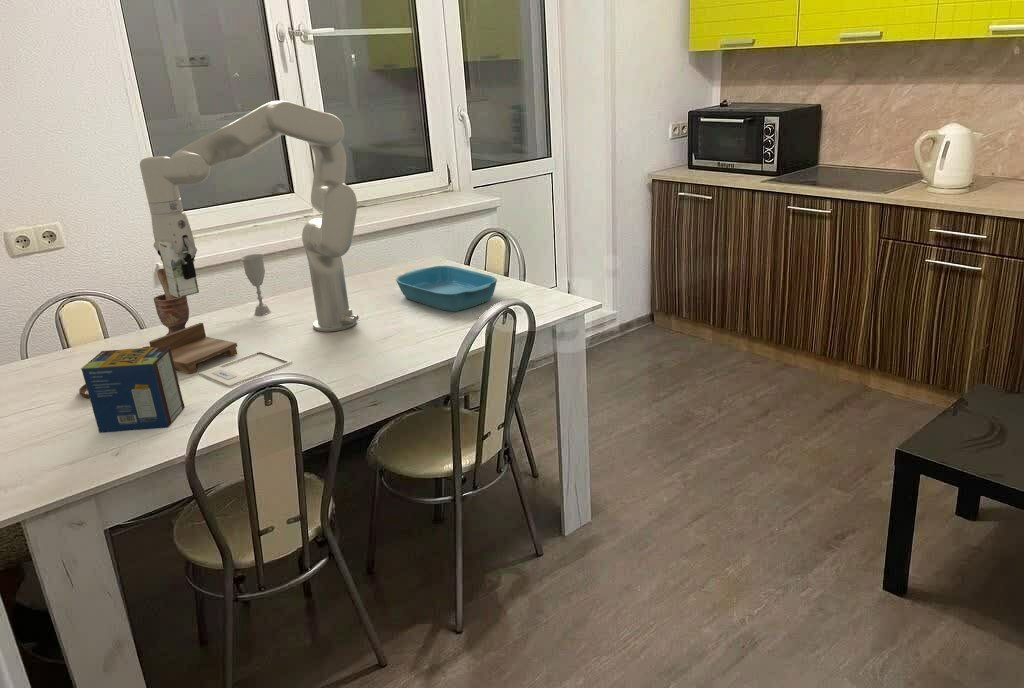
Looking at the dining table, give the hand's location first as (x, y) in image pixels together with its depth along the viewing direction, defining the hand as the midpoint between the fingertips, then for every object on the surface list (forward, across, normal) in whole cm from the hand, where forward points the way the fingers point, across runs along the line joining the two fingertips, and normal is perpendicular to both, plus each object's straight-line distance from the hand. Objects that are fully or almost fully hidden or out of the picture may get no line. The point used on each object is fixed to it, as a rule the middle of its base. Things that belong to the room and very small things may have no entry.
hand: (181, 276), depth 196 cm
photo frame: (+24, -17, -1) cm, 30 cm away
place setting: (+24, +5, +19) cm, 31 cm away
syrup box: (+5, 0, 0) cm, 5 cm away
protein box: (+24, -19, +30) cm, 43 cm away
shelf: (+23, +1, 0) cm, 23 cm away
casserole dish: (+24, -32, -70) cm, 80 cm away
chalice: (+24, +16, -36) cm, 46 cm away
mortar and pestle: (+24, +22, -9) cm, 34 cm away
